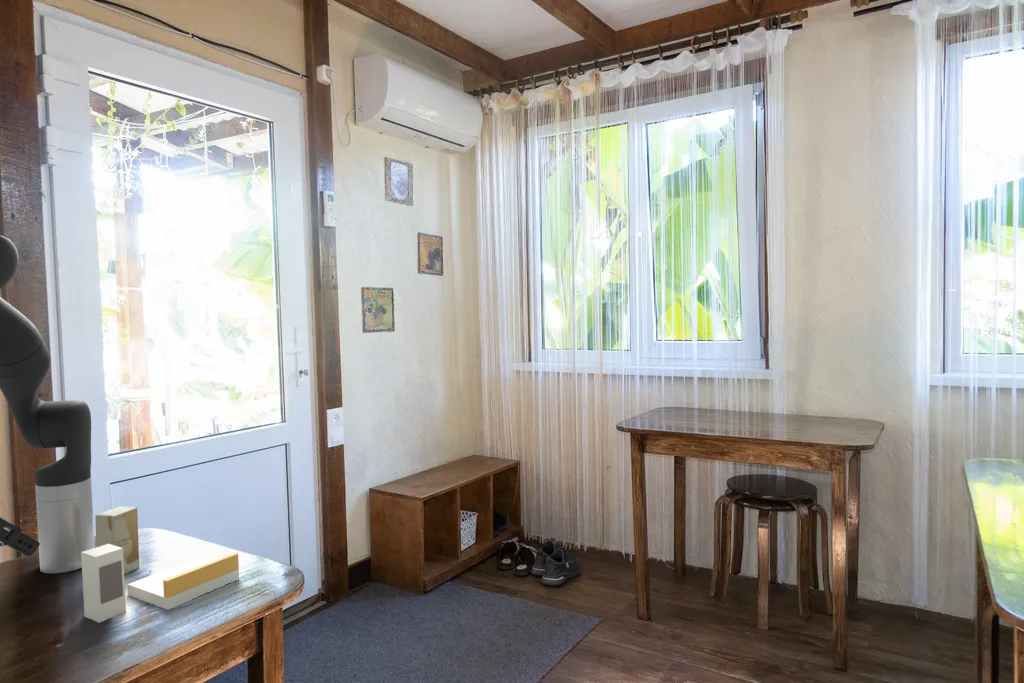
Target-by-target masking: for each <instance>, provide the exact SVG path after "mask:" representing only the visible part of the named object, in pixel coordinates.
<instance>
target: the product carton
mask: <svg viewBox="0 0 1024 683" xmlns="http://www.w3.org/2000/svg"><path fill="white" fill-rule="evenodd" d="M81 559H82V568H81V572H82V573H81V574H82V592H83V593H82V595H83V611H84V618H87V619H89V620H91V619H92V620H91V621H93V622H96V623H99V624H100V623H101V622H104V621H106V620H109V619H111V618H114V617H117V616H120V615H122V614H124V613H126V612H127V606H126V605H127V604H126V603H127V602H126V583H125V582H126V581H125V574H124V560H123V548H121V547H118V546H114V545H111V544H106V545H103V546H100V547H96V546H95V548H93V549H90V550H87V551H83V552H81Z"/></svg>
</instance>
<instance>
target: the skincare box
mask: <svg viewBox="0 0 1024 683" xmlns="http://www.w3.org/2000/svg"><path fill="white" fill-rule="evenodd" d="M95 544H96V545H95V548H96V547H100V546H103V545H106V544H111V545H114V546H118V547H121V548H123V560H124V575H126V574H128V573H130V572H132V571H134V570H136V569H138V568H140V553H139V550H140V549H139V548H140V547H139V546H140V545H139V524H138V507H136V506H117V507H115V508H112V509H108V510H105V511H104V512H103V511H102V512H101V513H98V514H96V515H95Z"/></svg>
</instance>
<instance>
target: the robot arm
mask: <svg viewBox="0 0 1024 683" xmlns="http://www.w3.org/2000/svg"><path fill="white" fill-rule="evenodd" d="M18 268H19V252H18V249H17V247H16V246H15V243H14V242H13V241H11V240H10V239H9V238H8V237H5V236H3V235H0V290H1V289H3V288H4V287H5V286H6V285H7V284H8V283H9V282H10V281H11V280H12V279H13V278H14V276H15V274H16V272H17V270H18ZM43 338H44V337H43V336H42V334H41V333H40V331H39V329H38V328H37V326H36V325H35V324H34V323H33V322H32V321H31V320H30V319H28V317H26V316H25V315H24V314H23V313H22V312H21V311H19V310H18V309H17V308H15V307H14V306H13V305H12V304H10V303H9V302H8V301H6V300H5V299H4V298H3V297H1V296H0V391H1V392H2V394H3V396H4V398H5V399H6V401H7V404H8V406H9V409H10V411H11V413H12V415H13V418H14V420H15V422H16V425H17V427H18V430H19V433H20V434H21V436H22V438H23V439H24V441H25V443H26V444H28V445H29V446H30V447H31V448H35V449H54V448H56V449H57V448H65V449H66V450H65V455H64V456H63V457H61V458H60V459H58V460H57V461H54V462H51V463H49V464H45V465H44V466H41V467H39V468H38V469H36V470H35V472H34V485H35V487H34V488H35V501H36V503H35V504H36V519H37V520H36V522H37V535H38V536H37V537H38V538H37V539H38V540H36V539H34V538H32V537H31V536H29V535H27V534H25V533H24V532H23V531H24V530H23V529H22V528H21V527H19V526H16V525H14V524H13V523H11V522H8V520H7V519H6V518H5V517H4V516H1V515H0V547H5V546H7V547H10V548H11V549H13V550H15V551H17V552H19V553H21V554H22V555H24V556H28V557H31V556H32V555H33V554H34V553H35V552H36V551H37V549H38V555H39V556H38V557H39V570H40V572H41V573H44V574H60V573H61V574H62V573H69V572H72V571H76V570H80V569H82V559H81V552H83V551H87V550H90V549H93V548H96V545H95V530H94V528H95V527H94V508H93V491H92V490H93V489H92V476H91V475H92V472H91V471H92V468H91V467H92V416H91V415H92V414H91V409H90V407H89V405H88V404H87V403H86V402H85V401H84V400H80V399H79V400H78V399H77V400H76V399H75V400H74V399H73V400H52V401H50V400H49V401H46V400H42V399H41V398H40V397H39V396H38V393H37V392H38V389H39V387H40V386H41V384H42V382H43V381H44V379H45V377H46V375H47V374H48V372H49V369H50V367H51V366H50V365H51V361H52V360H51V358H52V357H51V354H50V352H49V349H48V347H47V344H46V343H45V341H44V339H43Z"/></svg>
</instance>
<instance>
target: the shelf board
mask: <svg viewBox="0 0 1024 683" xmlns="http://www.w3.org/2000/svg"><path fill="white" fill-rule="evenodd" d="M239 566H240V565H239V553H238V552H233V553H230V554H228V555H225V556H223V557H220V558H217V559H215V560H208V559H204V558H201V557H197V558H195V559H192V560H188V561H187V562H184V563H181V564H178V565H176V566H173V567H170V568H168V569H165V570H162V571H159V572H157V573H155V574H152V575H151V574H150V575H149V576H146V577H143V578H141V579H138V580H136V581H133V582H130V583H127V595H128V596H130V597H132V598H135V599H137V598H138V600H140V601H142V602H145V603H149V604H151V605H153V604H154V605H153V606H156V607H159V608H161V607H162V609H164V610H167V611H170V610H171V609H174V608H176V607H178V606H180V605H182V604H185V602H186V603H187V602H190V601H192V599H193V598H195V599H197V598H199V597H198V596H200V595H202V596H204V595H206V594H205V593H207V592H209V593H211V592H213V591H212V590H214V589H216V590H218V589H220V587H221V588H223V587H225V586H227V585H226V584H228V583H230V584H232V583H234V582H233V581H235V580H237V579H239V580H240V567H239ZM237 581H238V580H237ZM231 582H232V583H231ZM235 582H236V581H235ZM224 585H225V586H224ZM228 585H229V584H228ZM222 586H223V587H222ZM217 588H218V589H217ZM210 591H211V592H210ZM214 591H215V590H214ZM203 594H204V595H203ZM207 594H208V593H207ZM196 597H197V598H196ZM200 597H201V596H200ZM189 600H190V601H189ZM193 600H194V599H193Z"/></svg>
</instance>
